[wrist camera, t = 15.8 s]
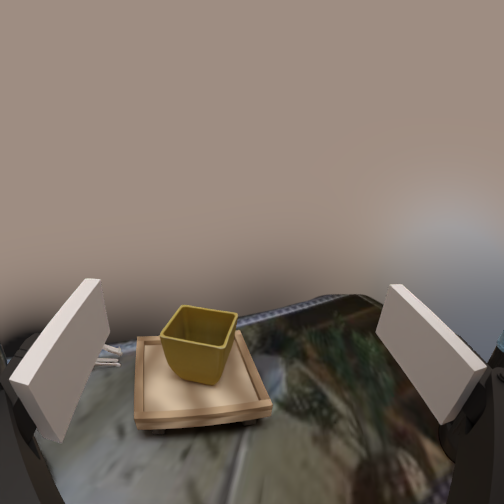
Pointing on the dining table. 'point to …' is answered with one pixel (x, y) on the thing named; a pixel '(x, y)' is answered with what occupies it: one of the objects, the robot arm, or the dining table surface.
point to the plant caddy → (196, 391)
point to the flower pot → (199, 343)
